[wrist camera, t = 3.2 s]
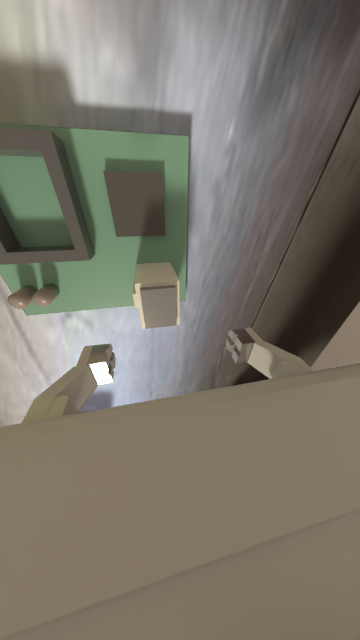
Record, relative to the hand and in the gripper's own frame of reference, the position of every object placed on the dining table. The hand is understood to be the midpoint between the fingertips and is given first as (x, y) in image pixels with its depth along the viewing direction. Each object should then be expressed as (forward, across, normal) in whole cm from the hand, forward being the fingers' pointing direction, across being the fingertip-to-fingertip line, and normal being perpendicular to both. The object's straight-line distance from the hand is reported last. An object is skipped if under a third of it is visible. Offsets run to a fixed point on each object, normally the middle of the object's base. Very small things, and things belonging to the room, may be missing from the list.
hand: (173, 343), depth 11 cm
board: (+13, +6, -4) cm, 15 cm away
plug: (+12, 0, 0) cm, 12 cm away
